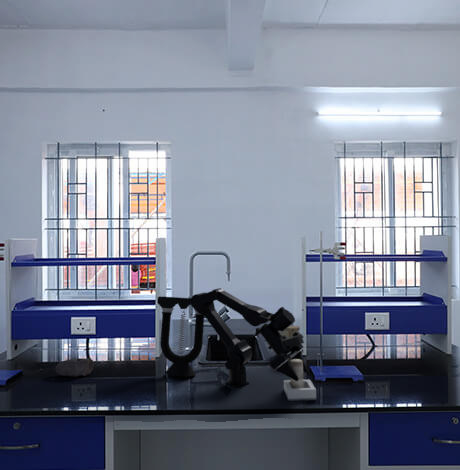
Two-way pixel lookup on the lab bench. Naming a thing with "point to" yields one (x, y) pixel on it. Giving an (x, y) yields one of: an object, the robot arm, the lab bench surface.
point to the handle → (292, 330)
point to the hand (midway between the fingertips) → (302, 376)
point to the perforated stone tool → (75, 367)
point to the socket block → (300, 391)
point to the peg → (298, 369)
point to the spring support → (179, 362)
